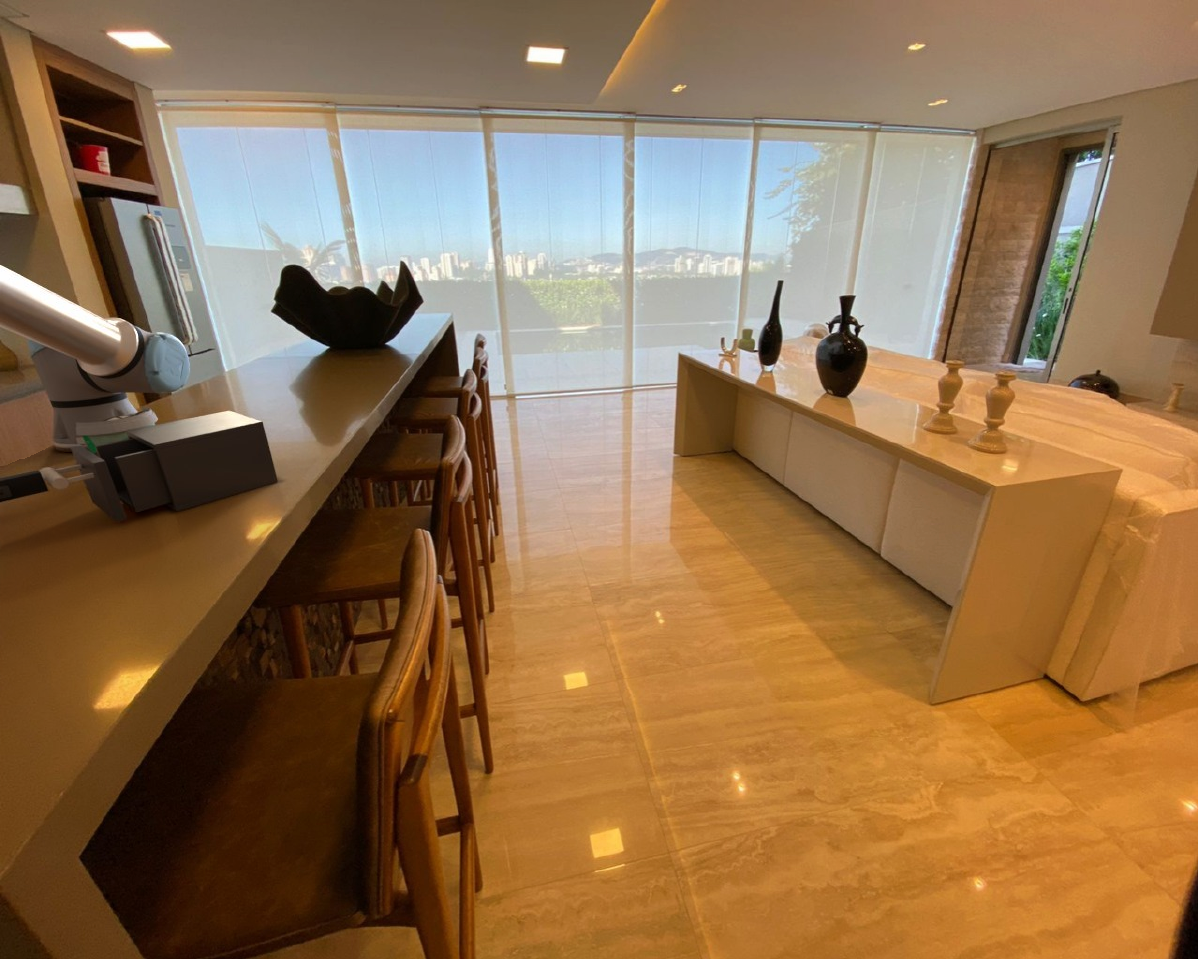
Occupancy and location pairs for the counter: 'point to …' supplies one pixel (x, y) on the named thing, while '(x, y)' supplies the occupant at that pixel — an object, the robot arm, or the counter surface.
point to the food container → (114, 428)
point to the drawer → (116, 477)
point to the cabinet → (209, 456)
